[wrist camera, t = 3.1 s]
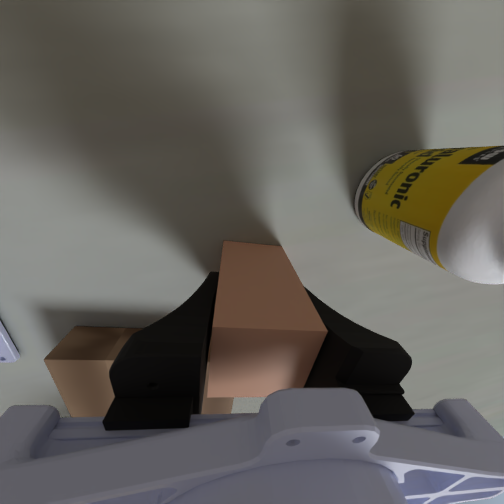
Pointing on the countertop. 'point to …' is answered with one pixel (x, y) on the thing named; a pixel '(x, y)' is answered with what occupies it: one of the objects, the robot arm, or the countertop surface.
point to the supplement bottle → (441, 207)
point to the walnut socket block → (101, 371)
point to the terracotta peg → (261, 324)
